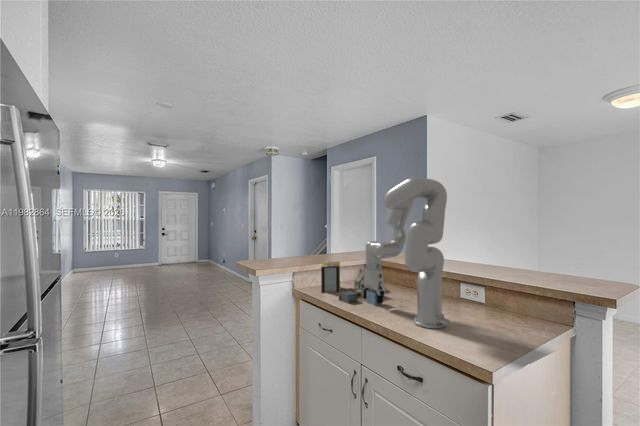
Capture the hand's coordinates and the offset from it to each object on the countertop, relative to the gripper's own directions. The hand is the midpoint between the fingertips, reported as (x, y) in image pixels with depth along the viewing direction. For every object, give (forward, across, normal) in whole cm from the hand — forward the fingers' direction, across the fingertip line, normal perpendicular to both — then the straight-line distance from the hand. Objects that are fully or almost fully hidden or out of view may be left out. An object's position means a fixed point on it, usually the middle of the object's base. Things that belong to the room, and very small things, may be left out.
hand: (373, 300), depth 152 cm
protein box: (+3, +36, 0) cm, 36 cm away
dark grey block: (+1, +10, +7) cm, 12 cm away
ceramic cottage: (+3, +22, -17) cm, 29 cm away
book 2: (+2, 0, 0) cm, 2 cm away
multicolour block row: (+2, +10, -1) cm, 10 cm away
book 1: (+1, +10, -5) cm, 11 cm away
